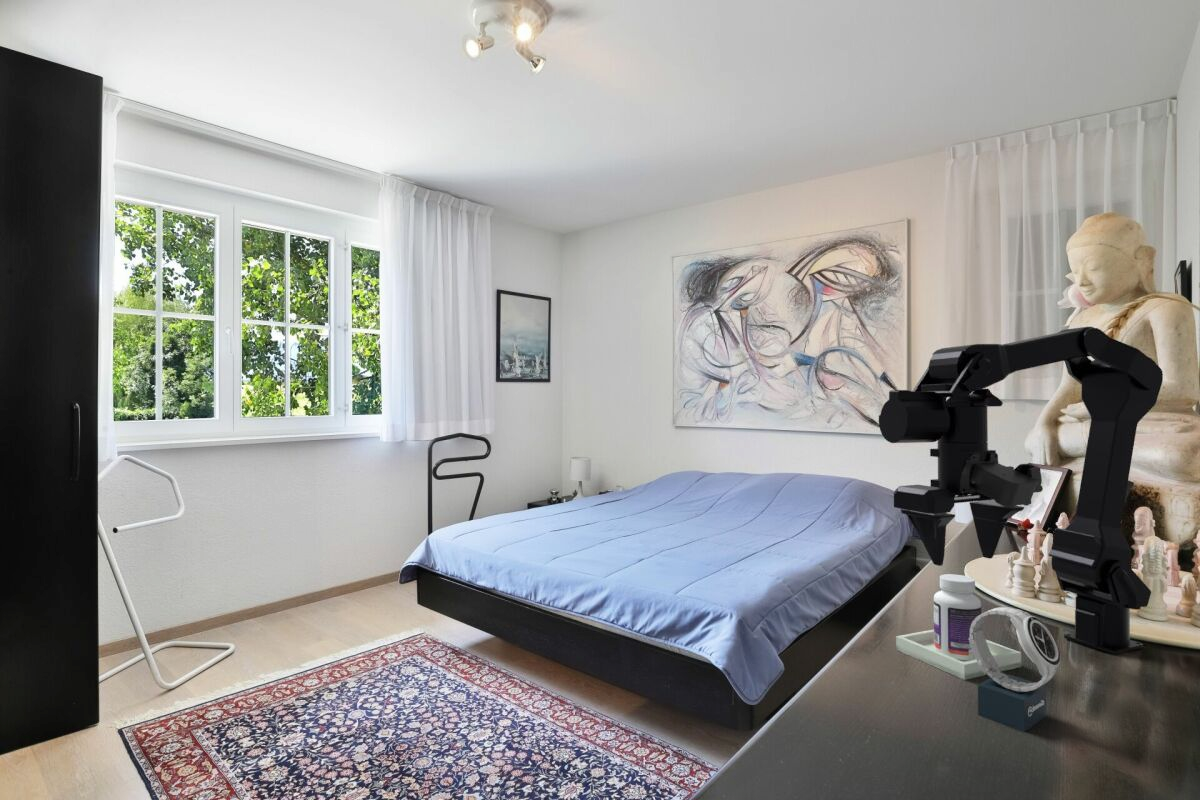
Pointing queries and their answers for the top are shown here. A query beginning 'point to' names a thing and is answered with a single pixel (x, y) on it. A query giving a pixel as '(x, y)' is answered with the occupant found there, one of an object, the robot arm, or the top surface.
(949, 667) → the tray
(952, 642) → the pill bottle
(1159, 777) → the top surface
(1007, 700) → the watch
